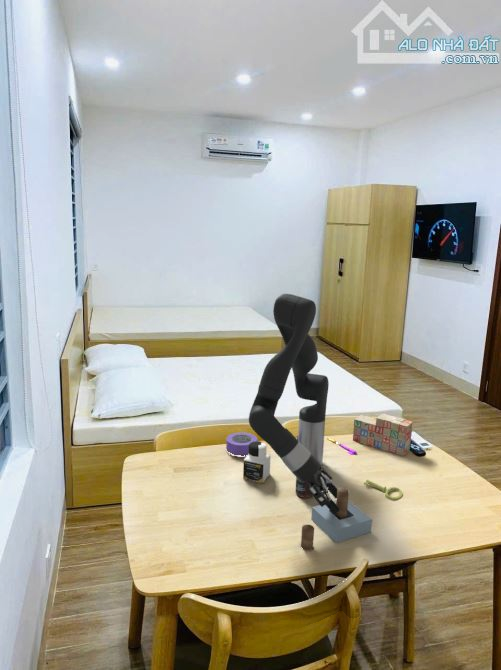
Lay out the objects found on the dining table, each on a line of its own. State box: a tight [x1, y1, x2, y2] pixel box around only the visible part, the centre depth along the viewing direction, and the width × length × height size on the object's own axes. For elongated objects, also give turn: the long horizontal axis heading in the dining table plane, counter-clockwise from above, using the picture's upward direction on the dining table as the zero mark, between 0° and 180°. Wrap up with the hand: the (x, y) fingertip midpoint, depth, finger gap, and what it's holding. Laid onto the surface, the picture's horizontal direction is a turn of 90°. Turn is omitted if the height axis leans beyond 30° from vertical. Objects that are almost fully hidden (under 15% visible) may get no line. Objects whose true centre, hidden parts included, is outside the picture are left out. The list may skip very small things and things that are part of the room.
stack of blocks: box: [352, 413, 414, 457], centre depth 194 cm, size 21×6×12 cm, turn 52°
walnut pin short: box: [300, 524, 315, 551], centre depth 131 cm, size 3×3×6 cm
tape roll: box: [225, 432, 258, 456], centre depth 187 cm, size 12×12×5 cm
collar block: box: [311, 499, 373, 544], centre depth 141 cm, size 12×12×4 cm
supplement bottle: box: [295, 476, 313, 498], centre depth 157 cm, size 6×6×11 cm
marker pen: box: [326, 437, 358, 456], centre depth 193 cm, size 3×1×16 cm
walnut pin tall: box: [335, 487, 350, 520], centre depth 140 cm, size 3×3×11 cm
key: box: [363, 479, 403, 501], centre depth 160 cm, size 7×12×2 cm, turn 69°
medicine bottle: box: [242, 440, 271, 484], centre depth 167 cm, size 7×7×12 cm
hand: (338, 503), depth 140 cm, fingers open, 8 cm apart
